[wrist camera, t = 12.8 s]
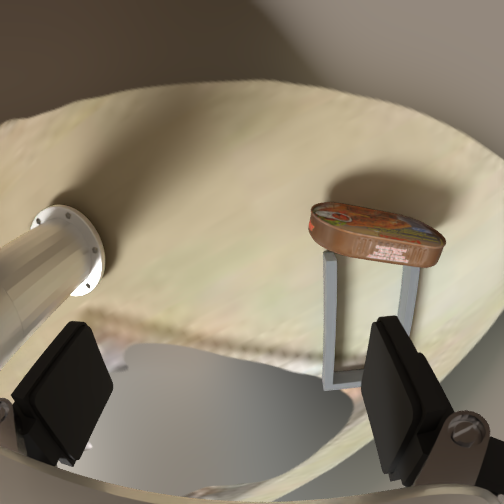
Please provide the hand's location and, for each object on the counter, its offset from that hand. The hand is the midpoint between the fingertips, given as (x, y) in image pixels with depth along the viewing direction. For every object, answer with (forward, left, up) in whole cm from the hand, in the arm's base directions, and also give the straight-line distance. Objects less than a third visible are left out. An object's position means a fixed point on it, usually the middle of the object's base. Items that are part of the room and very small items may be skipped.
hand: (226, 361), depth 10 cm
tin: (+12, -4, -27) cm, 30 cm away
